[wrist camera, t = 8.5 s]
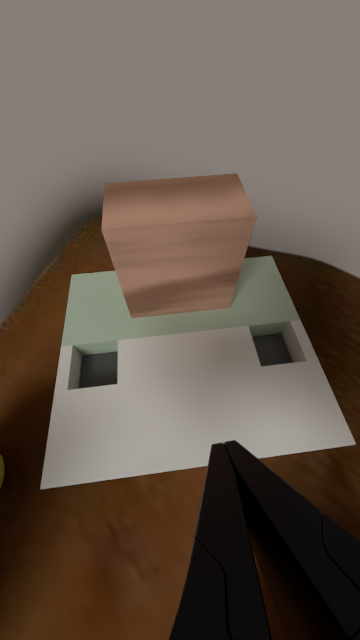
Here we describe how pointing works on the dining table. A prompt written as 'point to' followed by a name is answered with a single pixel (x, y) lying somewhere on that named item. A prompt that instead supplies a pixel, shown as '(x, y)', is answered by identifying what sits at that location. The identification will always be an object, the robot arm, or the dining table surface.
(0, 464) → the lemon
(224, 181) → the terracotta block
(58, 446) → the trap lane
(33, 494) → the dining table surface
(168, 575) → the dining table surface
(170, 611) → the dining table surface
